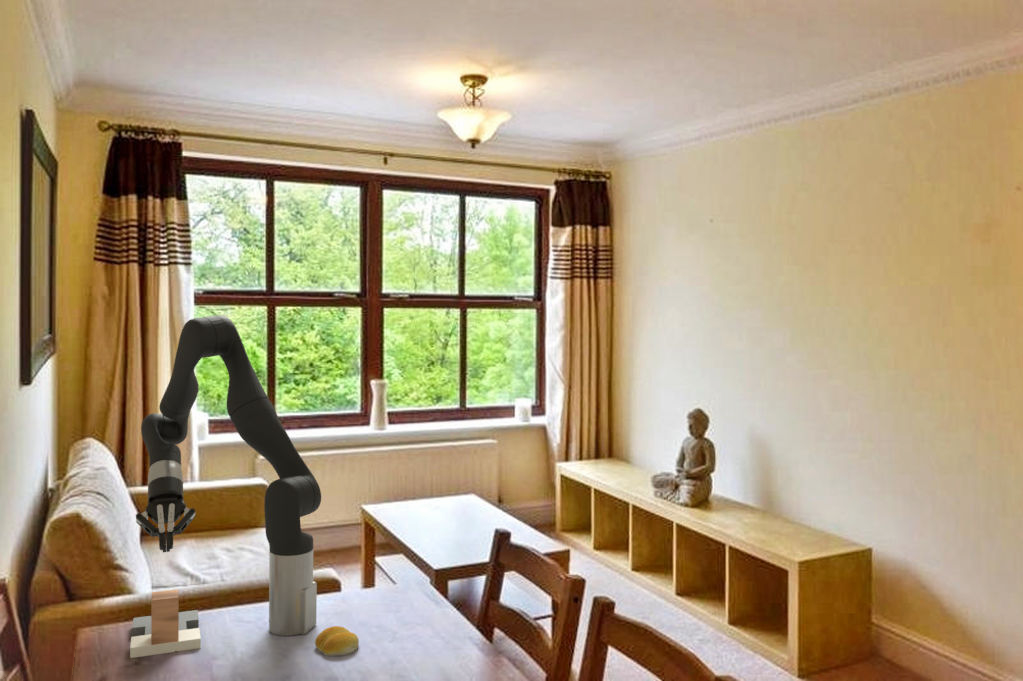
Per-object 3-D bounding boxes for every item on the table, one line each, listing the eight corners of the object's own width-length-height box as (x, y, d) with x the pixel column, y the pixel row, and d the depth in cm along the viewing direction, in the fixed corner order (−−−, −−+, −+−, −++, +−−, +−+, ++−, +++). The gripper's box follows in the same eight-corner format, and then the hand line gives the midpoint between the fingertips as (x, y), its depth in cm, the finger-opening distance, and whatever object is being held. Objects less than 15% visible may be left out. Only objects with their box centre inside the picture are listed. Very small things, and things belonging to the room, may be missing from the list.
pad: (131, 646, 163) (131, 636, 163) (199, 637, 169) (199, 627, 169) (130, 658, 158) (130, 648, 158) (200, 648, 163) (200, 638, 163)
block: (151, 635, 164) (151, 592, 164) (178, 632, 166) (178, 589, 166) (151, 644, 160) (151, 600, 159) (178, 641, 161) (178, 597, 161)
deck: (133, 627, 174) (133, 617, 173) (197, 618, 179) (197, 609, 179) (131, 646, 163) (131, 636, 163) (199, 637, 169) (199, 627, 169)
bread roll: (330, 661, 158) (331, 641, 158) (309, 647, 165) (309, 628, 165) (367, 650, 164) (367, 631, 164) (345, 636, 170) (345, 618, 170)
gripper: (133, 477, 181) (132, 544, 170) (196, 472, 186) (198, 537, 175) (134, 496, 186) (133, 562, 175) (195, 491, 191) (198, 555, 180)
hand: (166, 550), depth 175 cm, fingers closed
